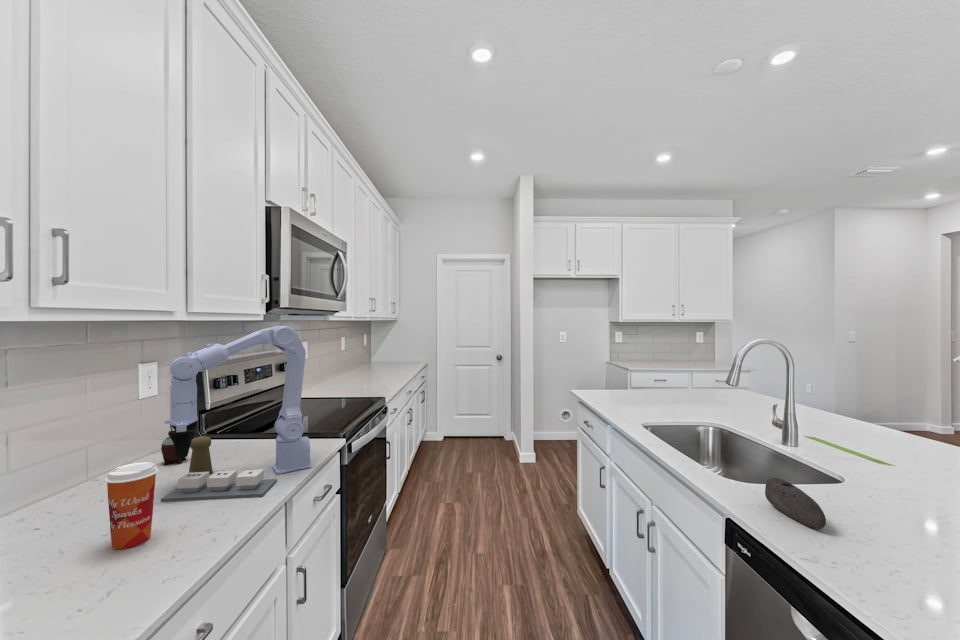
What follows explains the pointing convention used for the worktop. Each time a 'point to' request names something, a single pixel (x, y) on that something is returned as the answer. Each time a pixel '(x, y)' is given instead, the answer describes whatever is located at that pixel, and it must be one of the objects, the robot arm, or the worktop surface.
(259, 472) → the key one
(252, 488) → the keypad base
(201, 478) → the key three
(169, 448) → the mate gourd
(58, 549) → the worktop surface
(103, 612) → the worktop surface
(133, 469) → the coffee cup
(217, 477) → the key two
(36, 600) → the worktop surface
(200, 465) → the cork
